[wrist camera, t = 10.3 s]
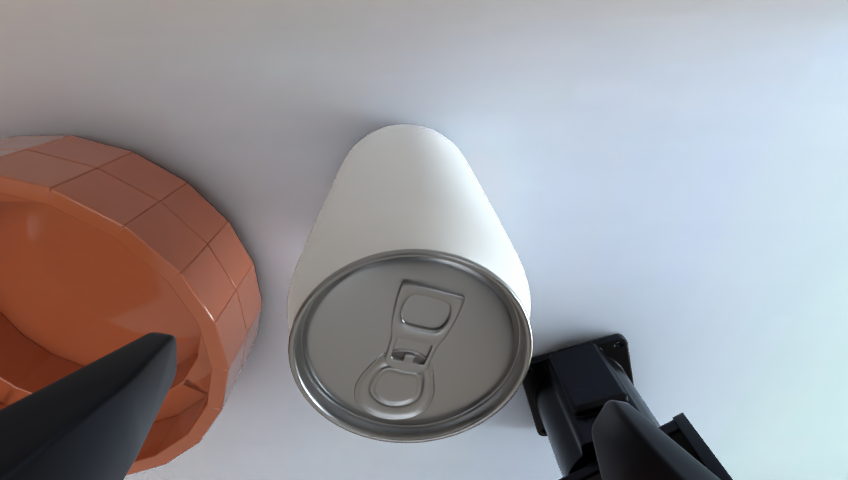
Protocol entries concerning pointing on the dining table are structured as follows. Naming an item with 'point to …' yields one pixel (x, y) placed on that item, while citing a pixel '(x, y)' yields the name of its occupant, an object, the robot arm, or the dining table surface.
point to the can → (408, 295)
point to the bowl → (119, 279)
